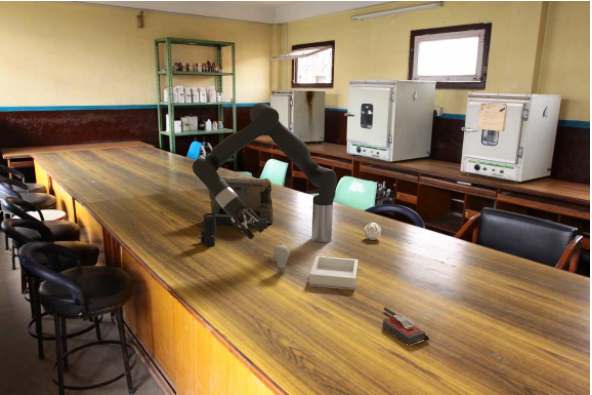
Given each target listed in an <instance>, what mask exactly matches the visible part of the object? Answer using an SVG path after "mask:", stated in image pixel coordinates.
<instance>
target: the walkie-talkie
mask: <svg viewBox="0 0 592 395" xmlns="http://www.w3.org/2000/svg"><path fill="white" fill-rule="evenodd" d="M383 311H385V312H387V313H388V314H390V315H391V316H390V317H385V318H384V319H383V320H382V329H383V328H384V329H386V330H387V331H388V332H387V331H386V330H385V331H386V332H387V333H389V332H390V333H391V334H390V333H389V334H390V335H392V334H393V335H395V336H396V337H398V338H399V339H400V340H402V341H403V342H405V343H406V344H408V345H411V344H414V343H417V342H419V341H422V340H425V341H428V342H429V340H430V337H429V336H428V335H426V332H425V331H424V330H422V329H421V328H420V327H418V326H416V325H415V322H414V320H412V319H410V318H409V317H407V316H406V315H400V314H398V313H396V312H394V311H393V310H391V309H389V308H388V307H386V306H384V307H383ZM384 329H383V330H384ZM393 335H392V336H393ZM395 336H394V337H395ZM396 337H395V338H396ZM398 338H397V339H398ZM399 339H398V340H399ZM400 340H399V341H400ZM402 341H401V342H402ZM425 341H424V342H425ZM403 342H402V343H403ZM405 343H404V344H405ZM406 344H405V345H406ZM408 345H407V346H408Z"/></svg>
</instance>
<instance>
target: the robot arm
mask: <svg viewBox="0 0 592 395" xmlns="http://www.w3.org/2000/svg"><path fill="white" fill-rule="evenodd" d="M249 117H250V121H251V123H250V124H248V125H247V126H245V127H244V128H242V129H241V130H239V131H235V132H234V133H232V134H230V135H228V136H226V137H225V138H224V139H222V140H221V141H219V143H218V144H217V145H215V146H214V147H212V149H211V150H210V153H209V154H208V155H207V156H206V157H205V158H202V157H201V158H197V159H195V160H194V161H193V163H192V167H191V168H192V172H193V174H194V175H195V176H196V177H197V178H198V179H199V181H201V183H203V185H204V186H205V187H206V188H207V190H208V192H209V191H210V193H211V194H212V195H213V196H214V197H215V199H216V200H217V202H218V203H219V205H220V206H221V207H222V208H223V209H224V211H225V212H226V213H227V214H228V215H229V216H230V217H232V218H231V219H230V221H231V223H232V224H233V225H234V226H233V227H234V229H236V231H237V232H238V233H244V234H245V235H246V236H247V238H248V239H249V240H253V238H255V234H254V233H253V232H252V231H251V229H250V227H247V223H251V224H252V225H255V226H254V227H253V228H255V229H256V230H257V231H258V232H259V233H261V234H262V232H264V231H265V228H263V227H262V226H261V225H260V223H259V219H260V218H259V217H258V216H257V215H256V214H255V212H254V211H253V210H252V209H251V208H249V209H247V210H246V209H245V208H244V207H245V203H244V202H243V201H242V200H241V199H240V197H239V196H238V195H237V194H236V193H235V191H234V190H233V189H231V188H230V186H229V185H228V184H227V183H226V182H225V181H224V180H223V179H222V178H221V177H220V176H221V175H220V174H219V173H218V172H217V171H218V170H219V169H220V168H221V167H222V166H223V164H225V163H227V161H228V160H230V159H231V158H232V157H233V156H235V154H237V153H238V152H239V151H241V150H242V149H243V148H245V147H246V146H247V145H249V144H250V143H251V142H253V141H255V140H256V139H258V138H259V137H261V136H263V135H264V134H266V135H267V136H268V137H269V138H270V139H271V140H272V141H273V143H275V145H276V146H277V147H278V148H279V150H280V151H281V152H282V153H283V154H284V155H285V156H286V157H287V158H288V160H290V161H291V163H293V164H294V165H295V166H296V167H297V168H298V169H299V170H301V172H302V173H303V174H304V176H305V177H306V179H308V181H309V182H310V183H311V184H312V185H313V187H316V188H319V193H318V194H316V195H314V196H313V197H312V215H311V240H312V241H313V242H318V243H328V242H331V241H332V237H333V236H332V234H333V217H334V215H333V213H334V199H335V198H336V192H337V174H336V172H335V171H334V170H333V169H330V168H327V167H323V166H320V165H319V164H318V163H317V162H316V161H314V159H313V158H312V156H311V152H310V149H309V148H308V145H307V144H306V143H305V142H304V141H303V140H302V139H301V137H299V136H298V135H297V134H296V133H295V132H293V131H292V130H291V129H290V128H288V127H286V126H285V125H284V124H283V123H282V122H281V121H280V115H279V112H278V110H277V109H276V108H274V107H273V106H271V105H269V104H266V103H263V102H261V103H256V104H254V105H252V107H251V108H250V112H249ZM254 216H255V217H256V218H254ZM238 225H239V226H238Z"/></svg>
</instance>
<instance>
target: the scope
mask: <svg viewBox="0 0 592 395" xmlns="http://www.w3.org/2000/svg"><path fill="white" fill-rule="evenodd" d="M202 218H203V221H202V222H203V223H202V224H203V228H202V229H201V230H200V234H199V235H197V239H199V240H200V243H201V244H204V245H205V247H207V248H213V247H215V246H216V240H215V239H216V237H217V236H218V231H217V224H216V219H215V218H216V214H214V213H212V212H211V213H210V212H209V213H207V212H206V213H204V214H203V215H202Z"/></svg>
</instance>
